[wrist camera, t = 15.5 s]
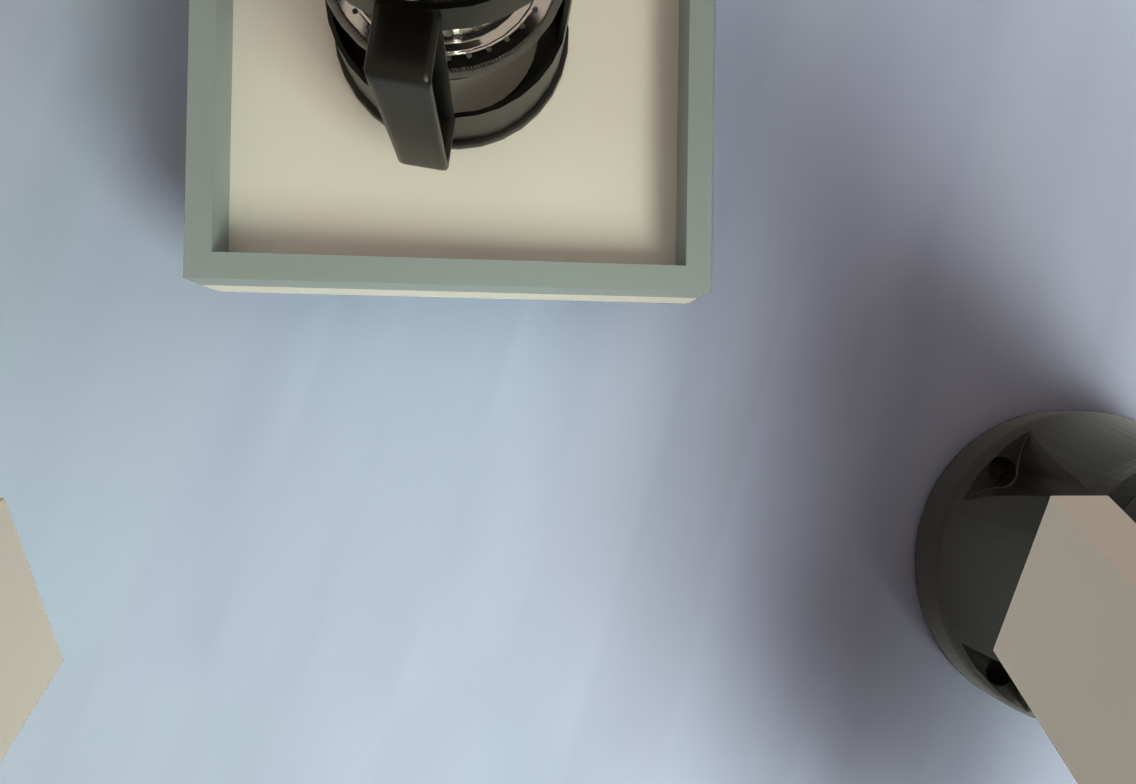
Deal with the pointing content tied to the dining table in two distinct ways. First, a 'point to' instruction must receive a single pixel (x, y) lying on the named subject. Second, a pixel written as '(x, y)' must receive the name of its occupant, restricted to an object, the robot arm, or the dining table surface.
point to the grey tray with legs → (452, 166)
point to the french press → (446, 66)
